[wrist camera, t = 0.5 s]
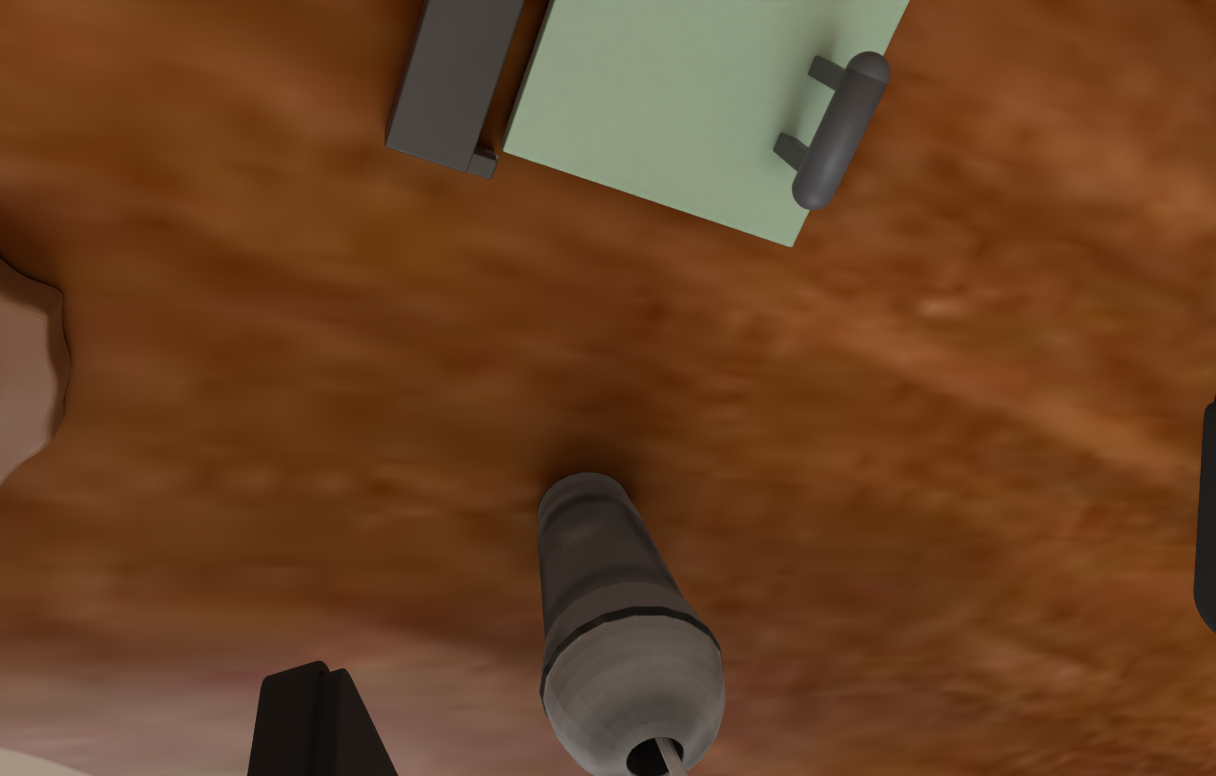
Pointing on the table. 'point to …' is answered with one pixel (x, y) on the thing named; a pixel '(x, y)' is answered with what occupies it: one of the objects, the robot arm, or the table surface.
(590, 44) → the sign
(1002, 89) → the table surface
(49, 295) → the plant
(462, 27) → the sign foot
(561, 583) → the beverage cup
